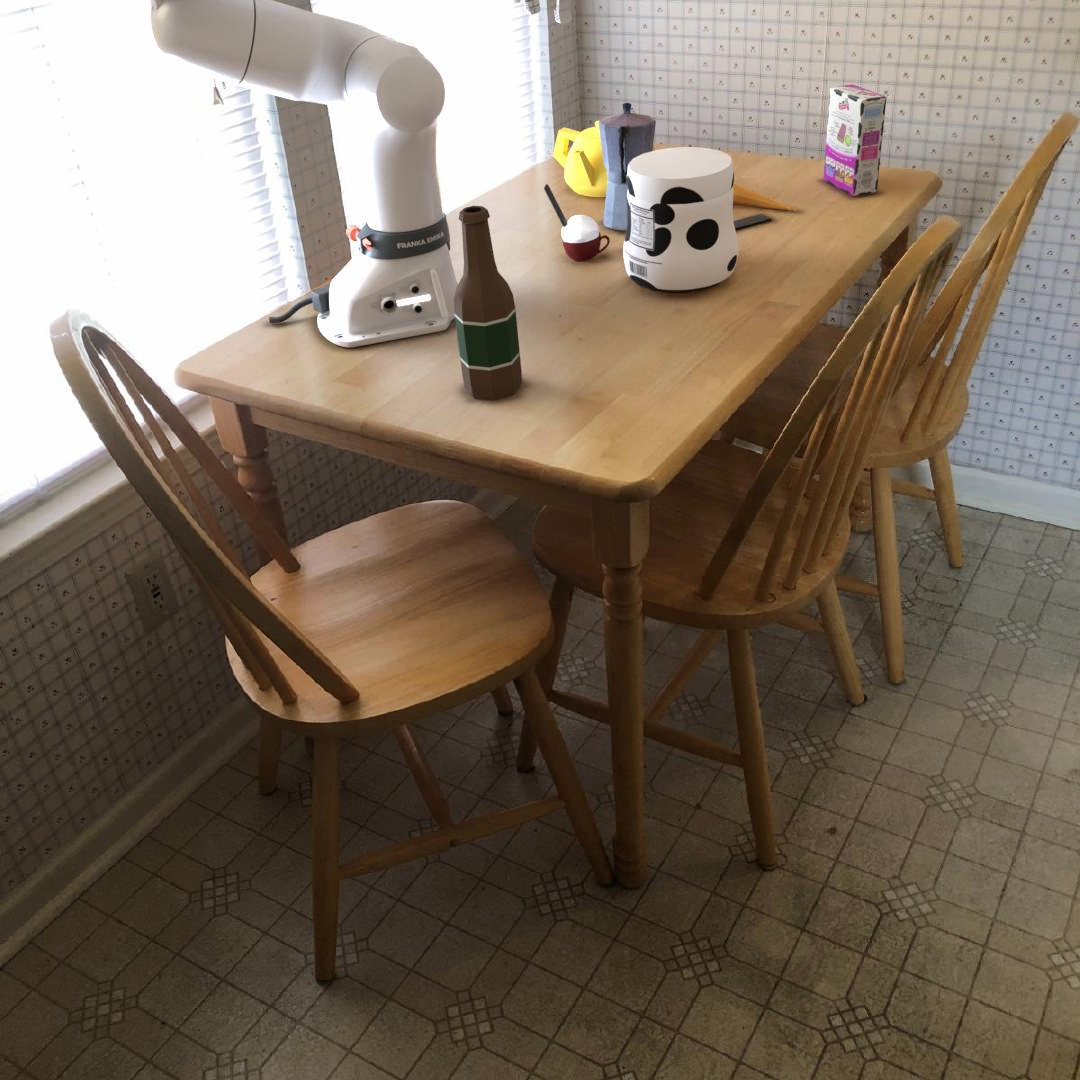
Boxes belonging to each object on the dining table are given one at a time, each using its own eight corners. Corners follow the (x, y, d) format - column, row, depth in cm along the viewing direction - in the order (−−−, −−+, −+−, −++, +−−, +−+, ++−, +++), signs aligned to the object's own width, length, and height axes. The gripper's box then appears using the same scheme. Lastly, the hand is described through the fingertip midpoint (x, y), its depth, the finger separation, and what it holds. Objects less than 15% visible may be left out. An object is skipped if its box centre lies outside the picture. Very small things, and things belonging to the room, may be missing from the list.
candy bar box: (879, 193, 197) (888, 96, 188) (853, 198, 196) (862, 100, 187) (846, 175, 206) (853, 82, 197) (821, 180, 205) (828, 86, 196)
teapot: (662, 192, 206) (661, 126, 200) (574, 206, 204) (570, 139, 197) (634, 167, 220) (632, 104, 213) (552, 180, 217) (548, 116, 211)
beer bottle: (522, 372, 151) (505, 195, 137) (523, 399, 145) (505, 217, 131) (465, 377, 151) (442, 201, 137) (463, 404, 145) (439, 223, 131)
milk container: (744, 260, 177) (747, 144, 167) (729, 305, 164) (731, 182, 153) (636, 257, 181) (633, 144, 171) (613, 300, 168) (608, 181, 158)
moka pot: (658, 208, 200) (656, 91, 188) (656, 239, 187) (654, 116, 176) (604, 210, 201) (599, 94, 189) (599, 242, 188) (594, 119, 177)
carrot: (691, 202, 203) (688, 182, 199) (703, 186, 204) (701, 166, 201) (791, 229, 194) (790, 209, 190) (803, 211, 195) (803, 191, 192)
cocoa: (614, 254, 183) (611, 181, 176) (594, 268, 179) (590, 194, 172) (566, 246, 188) (561, 175, 181) (545, 259, 184) (539, 186, 177)
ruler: (639, 255, 182) (639, 253, 182) (630, 250, 184) (630, 247, 184) (771, 220, 190) (771, 218, 190) (761, 216, 193) (761, 213, 192)
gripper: (477, -93, 154) (496, 13, 162) (544, -83, 139) (561, 34, 147) (517, -105, 156) (535, 2, 164) (588, -96, 140) (603, 21, 149)
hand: (548, 17), depth 155 cm, fingers open, 8 cm apart
